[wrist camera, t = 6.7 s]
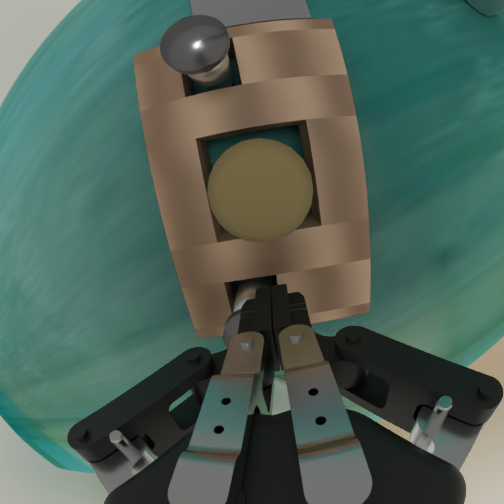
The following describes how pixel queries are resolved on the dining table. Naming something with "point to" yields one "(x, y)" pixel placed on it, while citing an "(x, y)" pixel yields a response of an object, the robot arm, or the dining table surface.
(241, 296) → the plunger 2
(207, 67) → the plunger
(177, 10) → the dining table surface
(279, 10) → the pad
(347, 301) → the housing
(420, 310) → the dining table surface
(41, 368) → the dining table surface
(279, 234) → the cork
